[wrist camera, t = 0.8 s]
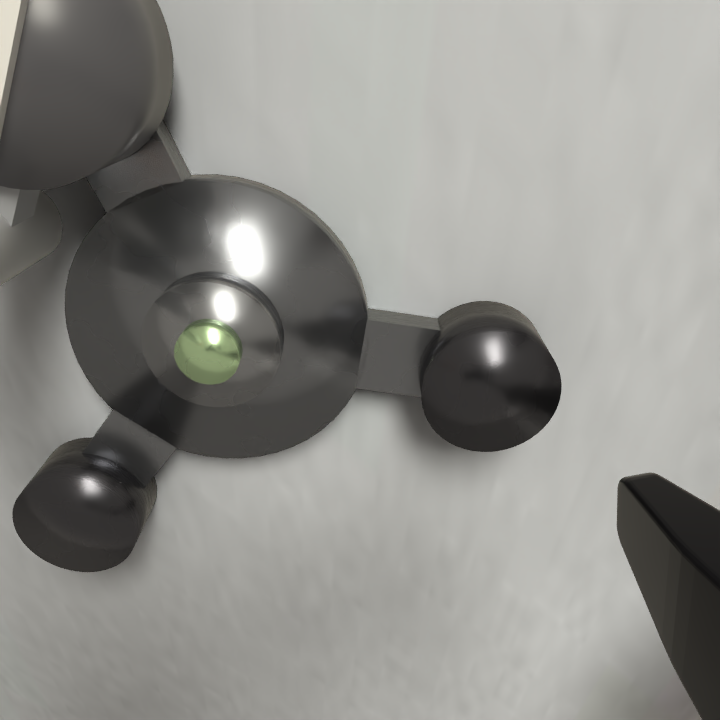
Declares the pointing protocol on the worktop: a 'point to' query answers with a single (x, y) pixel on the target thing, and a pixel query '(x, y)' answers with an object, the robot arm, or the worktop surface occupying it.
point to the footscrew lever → (71, 106)
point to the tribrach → (245, 349)
